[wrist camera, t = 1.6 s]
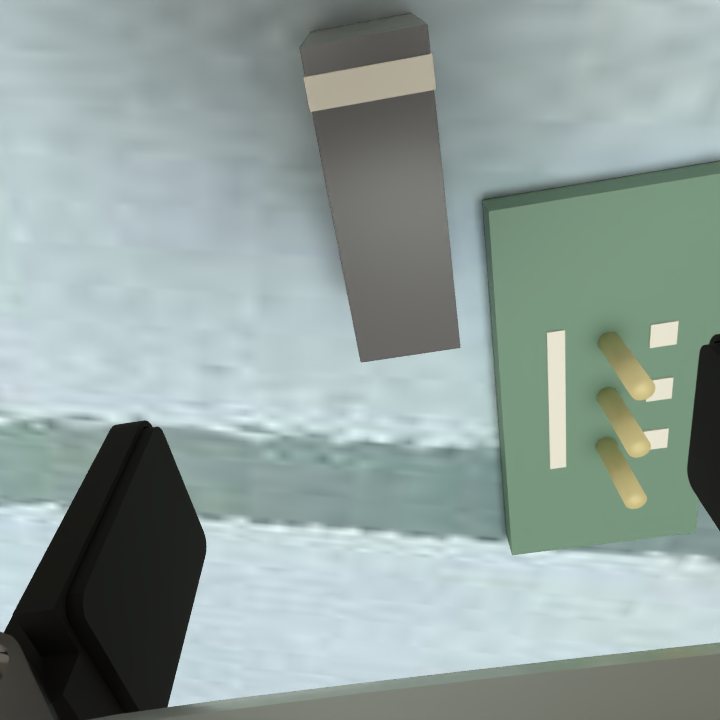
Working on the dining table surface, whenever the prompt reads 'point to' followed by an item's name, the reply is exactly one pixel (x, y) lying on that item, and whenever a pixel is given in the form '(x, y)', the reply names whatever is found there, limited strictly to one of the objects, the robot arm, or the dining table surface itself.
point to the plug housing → (385, 181)
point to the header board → (601, 352)
